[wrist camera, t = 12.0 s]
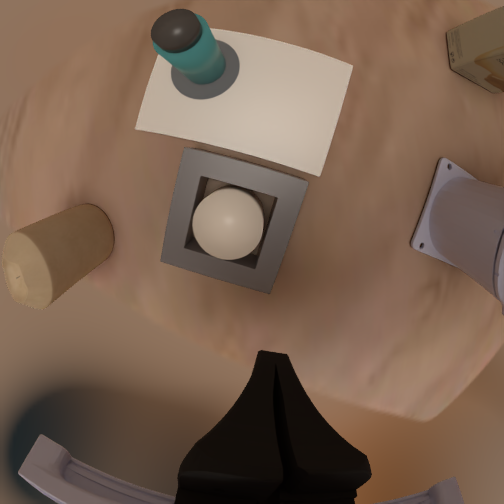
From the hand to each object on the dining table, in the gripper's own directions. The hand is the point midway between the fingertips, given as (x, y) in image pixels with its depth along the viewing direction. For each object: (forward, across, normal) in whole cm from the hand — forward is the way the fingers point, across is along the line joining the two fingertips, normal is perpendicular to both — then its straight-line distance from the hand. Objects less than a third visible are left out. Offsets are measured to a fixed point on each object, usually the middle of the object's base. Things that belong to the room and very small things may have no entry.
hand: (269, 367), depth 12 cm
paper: (+10, +5, -14) cm, 17 cm away
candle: (+10, +16, 0) cm, 19 cm away
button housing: (+10, +4, -4) cm, 11 cm away
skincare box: (+10, -14, -24) cm, 30 cm away
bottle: (+10, +8, -15) cm, 19 cm away
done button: (+10, +4, -4) cm, 11 cm away
